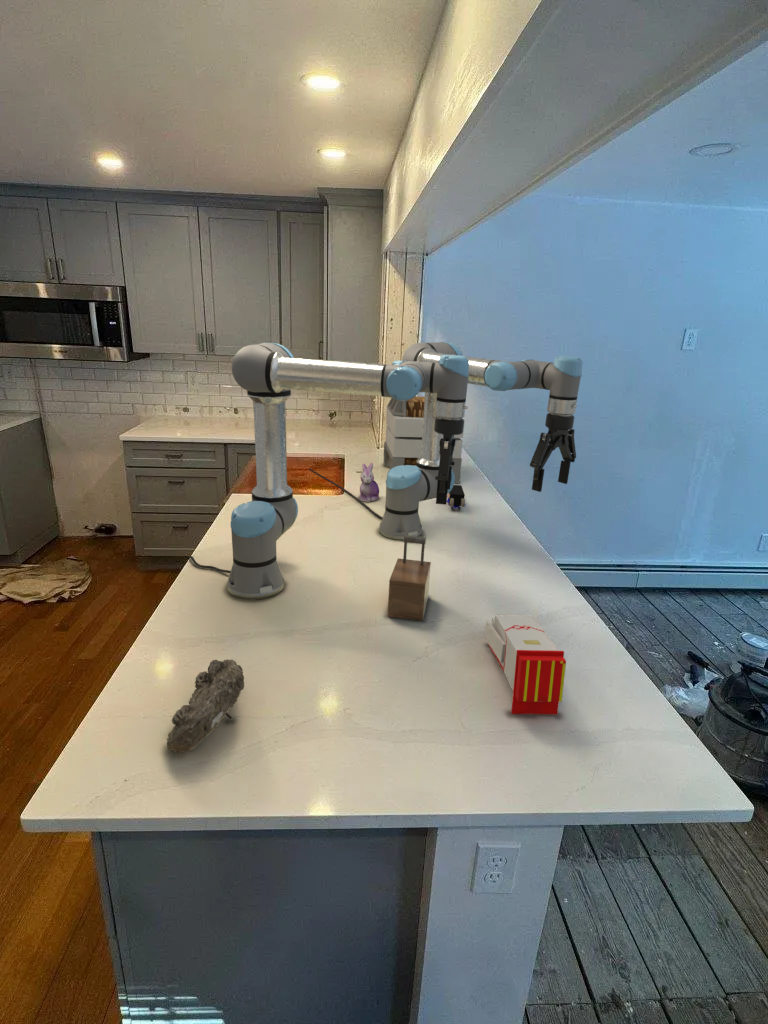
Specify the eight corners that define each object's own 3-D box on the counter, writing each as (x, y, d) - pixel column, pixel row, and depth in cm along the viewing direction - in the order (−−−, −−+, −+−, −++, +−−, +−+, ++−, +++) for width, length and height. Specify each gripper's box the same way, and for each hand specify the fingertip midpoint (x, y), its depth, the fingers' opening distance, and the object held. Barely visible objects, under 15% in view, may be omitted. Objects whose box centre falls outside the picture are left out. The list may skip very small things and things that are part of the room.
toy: (530, 600, 137) (574, 657, 108) (525, 651, 140) (567, 720, 111) (480, 599, 137) (511, 656, 107) (477, 651, 139) (506, 719, 110)
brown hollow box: (395, 593, 158) (397, 562, 155) (428, 597, 157) (430, 566, 154) (387, 616, 146) (389, 583, 143) (422, 621, 145) (425, 587, 142)
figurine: (363, 503, 228) (365, 467, 223) (353, 496, 237) (354, 461, 232) (384, 501, 233) (386, 465, 227) (373, 493, 241) (374, 459, 236)
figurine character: (465, 515, 224) (460, 499, 237) (467, 498, 221) (462, 483, 234) (448, 515, 224) (444, 499, 237) (450, 498, 220) (445, 482, 234)
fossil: (192, 660, 117) (244, 628, 112) (224, 691, 120) (276, 661, 115) (142, 746, 98) (202, 712, 93) (182, 779, 101) (242, 748, 96)
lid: (397, 561, 156) (399, 531, 153) (430, 565, 154) (433, 535, 151) (389, 583, 143) (390, 551, 140) (425, 587, 141) (427, 555, 139)
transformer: (382, 463, 289) (386, 382, 275) (445, 464, 293) (451, 384, 279) (390, 482, 257) (394, 392, 243) (460, 483, 261) (468, 394, 247)
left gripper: (462, 427, 134) (454, 512, 141) (466, 410, 157) (459, 484, 164) (430, 425, 135) (424, 509, 142) (439, 408, 158) (433, 481, 165)
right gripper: (547, 420, 147) (536, 497, 155) (595, 412, 163) (583, 482, 171) (523, 415, 153) (513, 490, 160) (572, 408, 169) (561, 476, 176)
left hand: (443, 495), depth 153 cm, fingers open, 13 cm apart
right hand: (549, 486), depth 165 cm, fingers open, 13 cm apart
